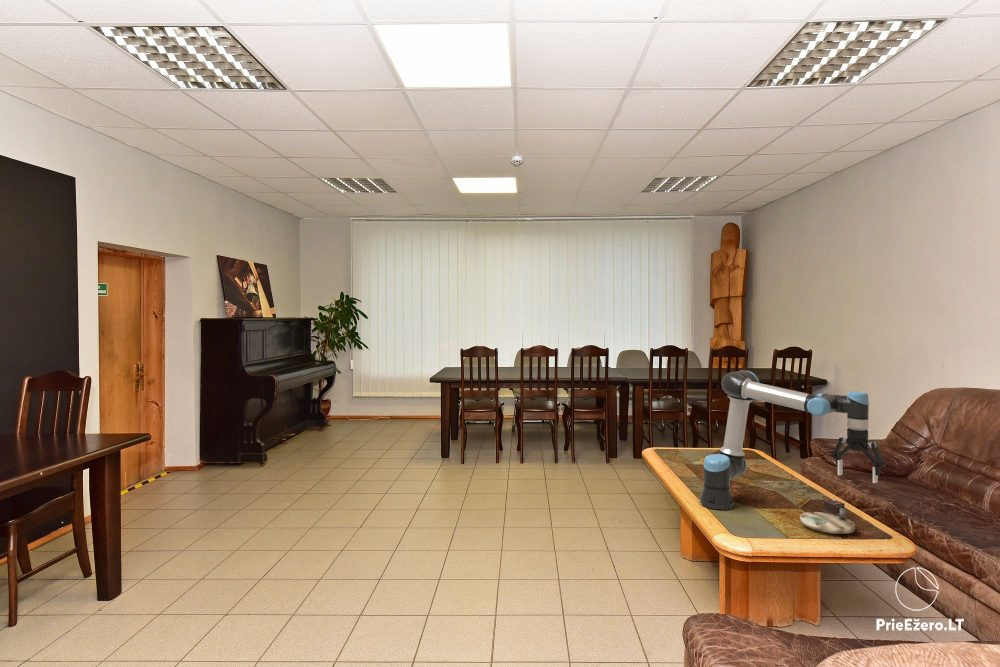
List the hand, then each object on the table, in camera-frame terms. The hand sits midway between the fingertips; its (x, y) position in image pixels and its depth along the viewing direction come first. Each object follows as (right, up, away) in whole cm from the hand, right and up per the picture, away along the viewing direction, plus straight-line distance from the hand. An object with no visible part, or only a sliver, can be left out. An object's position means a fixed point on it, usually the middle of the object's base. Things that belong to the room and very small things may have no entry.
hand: (857, 478), depth 228 cm
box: (0, -22, +16) cm, 27 cm away
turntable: (-11, -21, +3) cm, 23 cm away
